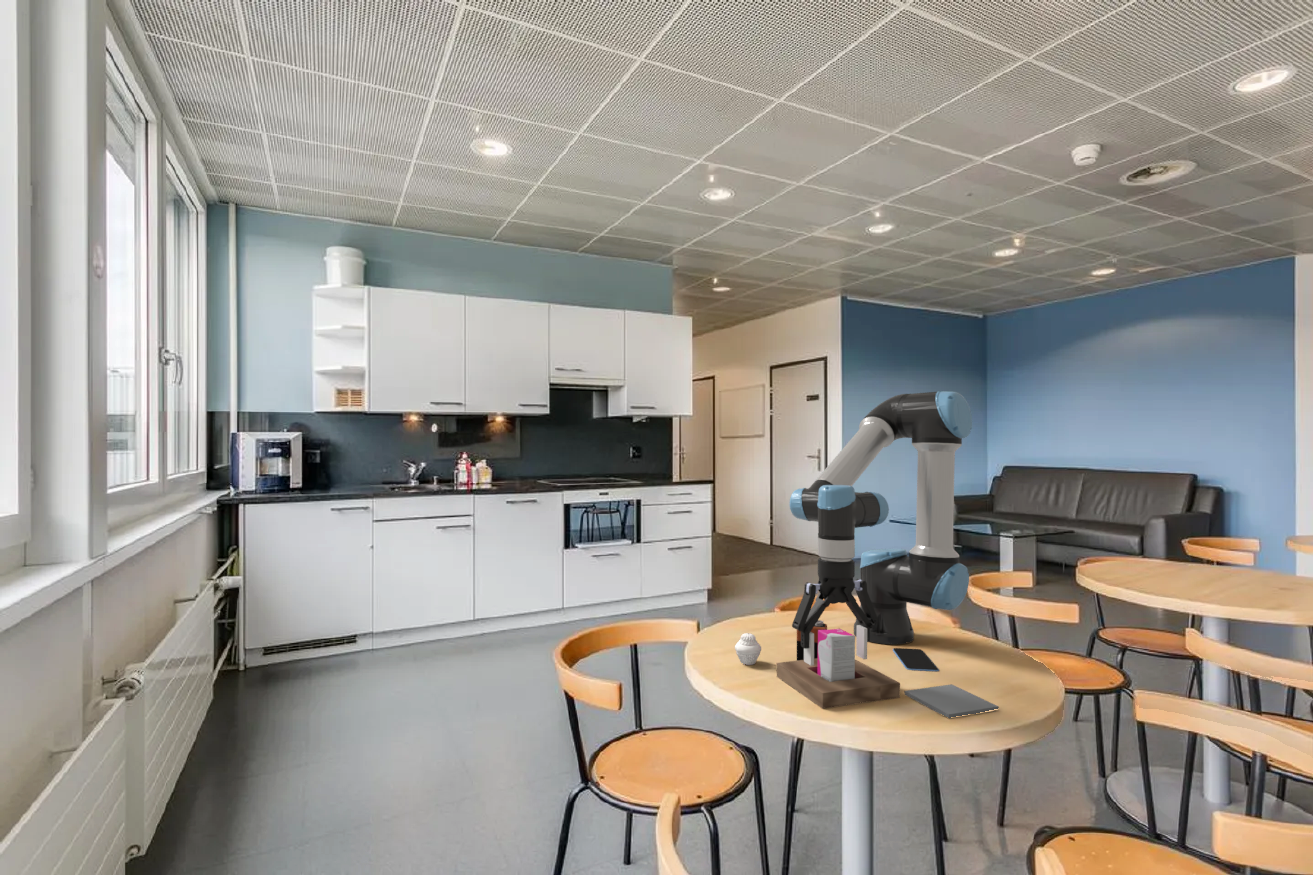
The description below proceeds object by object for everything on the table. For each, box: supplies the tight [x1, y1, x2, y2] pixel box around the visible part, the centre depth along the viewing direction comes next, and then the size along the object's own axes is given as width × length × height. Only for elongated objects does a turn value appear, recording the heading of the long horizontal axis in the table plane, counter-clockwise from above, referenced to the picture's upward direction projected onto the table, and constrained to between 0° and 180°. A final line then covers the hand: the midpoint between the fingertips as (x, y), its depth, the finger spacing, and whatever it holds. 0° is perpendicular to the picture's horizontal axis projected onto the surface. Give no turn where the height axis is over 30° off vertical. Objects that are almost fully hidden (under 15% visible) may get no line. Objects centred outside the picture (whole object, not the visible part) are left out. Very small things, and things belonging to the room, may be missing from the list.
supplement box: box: [817, 628, 856, 682], centre depth 135 cm, size 6×6×12 cm
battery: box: [796, 619, 828, 661], centre depth 149 cm, size 4×7×10 cm, turn 74°
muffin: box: [734, 632, 762, 666], centre depth 150 cm, size 6×6×7 cm
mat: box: [904, 683, 999, 719], centre depth 127 cm, size 12×12×1 cm
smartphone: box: [892, 647, 940, 672], centre depth 152 cm, size 7×1×15 cm
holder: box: [776, 658, 901, 710], centre depth 135 cm, size 18×18×3 cm
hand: (835, 660), depth 135 cm, fingers open, 12 cm apart
